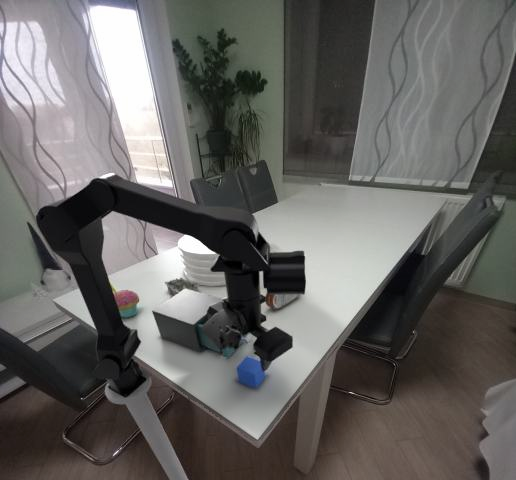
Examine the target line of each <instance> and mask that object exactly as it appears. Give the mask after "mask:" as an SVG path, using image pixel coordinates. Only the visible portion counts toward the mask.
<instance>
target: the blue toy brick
mask: <svg viewBox="0 0 516 480" xmlns="http://www.w3.org/2000/svg"><path fill="white" fill-rule="evenodd" d="M236 373H237V381H238V382H239V383H241V384H244V385H247V386H249V387H252V388H254V389H257V388H258V387H259V385H260V384H261V383H262V381H263V380H264V378H265V377H266V371H264V372H263V371H262V368H261V363H260V359H256V358H253V357H250V356H248V355H246V356H245V357H244V358H243V359H242V361H241V362H240V363H239V364H238V365H237V366H236Z"/></svg>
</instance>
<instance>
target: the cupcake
mask: <svg viewBox="0 0 516 480" xmlns="http://www.w3.org/2000/svg"><path fill="white" fill-rule="evenodd" d="M110 284H111V287H112V290H113V294H114V297H115V300H116V303H117V306H118V309H119V312H120V315H121V318H131V317H133V316H135V315H136V314H137V312H138V303H139V302H140V298H139V297H140V296H139V295H138V293H136V292H135V291H133V290H129V289H122V290H119V291H117V290H116V288H114V286H113V284H112V283H111V282H110Z"/></svg>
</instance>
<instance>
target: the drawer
mask: <svg viewBox="0 0 516 480" xmlns="http://www.w3.org/2000/svg"><path fill="white" fill-rule="evenodd" d="M208 320H209V319H208V316H207V317H206V318H205V319H203V320H202V321H201V322H200V323H199V324H197V325H196V328H197V332H198V336H199V340H200V344H201V345H202V346H205V348H208V349H210V350H213V351H215V352H218V353H221V352H222V356H223V358H226V359H228V358H229V357H231V355H233V353H234V352H235V351H236V350H234V349H233V348H229V347H227V348H225V349H223V350H220V349H218V348H217V347H216V346H215V345H214V344H213V343H211V342H210V341H209V340H208V339H207V337H206V336H205V335H204V333H203V332H202V331H201V327H202V326H203V325H204V324H205V323H206V322H207V321H208ZM254 338H255V336H253V335H252V334H250V333H248V334H246V335H244V336H242V338H241V340H240V343H239V346H240V345H241V344H242V343H243V344H244V345H248V344H249V343H250V342H251V341H252V340H253V339H254Z"/></svg>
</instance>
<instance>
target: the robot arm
mask: <svg viewBox="0 0 516 480" xmlns="http://www.w3.org/2000/svg"><path fill="white" fill-rule="evenodd" d="M113 212H114V213H117V214H120V215H123V216H127V217H129V218H132V219H135V220H139V221H141V222H144V223H147V224H151V225H154V226H157V227H160V228H163V229H165V230H170V231H173V232H176V233H178V234H182V235H184V236H185V235H188V236H191V237H193V238H195V239H197V240H198V241H200V242H201V243H202V244H203V245H204V246H206V247H207V248H208V249H209V250H211V251H213V252H215V253H217V254H219V256H218V257H217V258H216V259H215V260H214V262H213V264H212V267H211V269H210V270H211V272H224V275H225V283H226V285H225V290H226V297H224V298H222V299H223V300H222V301H219V302H217V303H215V304H213V305H211V306H209V308H208V310H207V316H208V319H209V320H208V321H207V322H206V323H205V324H204V325H203V326H202V327H201V331H202V332H203V333H204V335H205V336H206V337H207V339H208V340H209V341H210V342H211V343H213V344H214V345H215V346H216V347H217V348H218V349H220V350H223V349H225V348H227V347H229V348H233V349H234V350H235V351H236V350H238V349H239V348H240V345H239V343H240V340H241V338H242V336H244V335H246V334H248V333H250V334H252V335H253V336H254V338H255V340H254V342H253V346H252V347H253V350H254V352H253V354H254V355H255V356H256V357H258V358H259V361H260V363H261V368H262V371H263V372H264V371H265V372H266V371H267V370H269V367H270V366H271V364H272V363H273V361H275V360H276V359H278V358H280V357H281V356H282V355H284V354H285V353H287V352H288V351H290V350H291V349H292V348H293V347H294V345H293V343H294V337H293V335H291V334H289V333H288V332H286V331H284V330H282V329H281V328H279V327H278V326H274V327H272V328H271V329H268V328H266V327H264V326H263V325H262V324H263V323H265V322H266V321H267V315H265V314H263V312H262V304H264V303H266V295H264V294H262V293H261V278H260V276H261V275H260V272H262V284H263V286H262V287H263V289H266V293H270V295H297V294H300V295H305V294H306V286H307V278H306V253H305V251H304V250H294V251H284V252H283V251H281V252H280V251H279V252H273V251H272V246H271V245H270V244H269V242H268V241H267V240H266V239H265V237H264V236H263V234H262V233H261V232H260V231H259V230H260V229H259V224H258V221H257V219H256V218H255V215H254V214H253V213H251V212H250V211H248V210H247V209H244V208H237V207H231V206H224V205H223V206H222V205H221V206H220V205H215V206H213V205H212V206H211V205H202V204H199V203H196V202H193V201H190V200H187V199H184V198H181V197H178V196H174V195H172V194H169V193H166V192H163V191H160V190H157V189H154V188H151V187H149V186H147V185H143V184H140V183H137V182H134V181H131V180H128V179H126V178H124V177H122V176H120V175H119V174H116V173H106V174H103V175H101V176H97V177H94V178H92V179H91V180H90V181H89V183H88V184H87V185H86V186H84V187H83V188H82V189H81V190H79V191H78V192H76V193H75V194H73V195H70V196H67V197H64V198H62V199H59V200H57V201H54V202H52V203H49V204H45V205H44V206H42V207H41V208H39V209H38V211H37V214H35V222H36V226H37V228H38V230H39V232H40V233H41V235H42V236H43V238H44V240H45V241H46V243H47V245H48V247H49V248H50V250H51V251H52V252H53V253H55V254H56V255H57V256H58V257H60V258H61V259H62V260H63V261H65V263H67V264H68V265H69V268H70V270H71V272H72V275H73V277H74V279H75V282H76V284H77V287H78V289H79V292H80V295H81V297H82V299H83V302H84V304H85V305H86V309H87V311H88V313H89V317H90V318H91V320H92V323H93V325H94V328H95V330H96V334H97V336H96V344H95V352H96V357H97V361H98V364H97V365H96V367H95V368H94V369H93V371H92V374H93V375H94V376H95V377H96V378H97V379H98V380H106V382H107V383H109V386H108V388H109V389H110V390H112V391H114V392H115V393H117V394H119V395H121V396H123V397H124V398H126V397H128V396H129V395H130V394H131V393H133V392H134V391H135V390H136V389H137V388H138V387H140V386H141V385H142V384H143V383H144V382H145V381H146V380H147V378H146V377H144V376H142V371H141V369H142V368H141V367H140V365H139V363H138V361H136V360H135V359H134V358H133V357H134V356H135V355H136V352H137V351H138V350H139V347H140V346H141V344H142V340H140V338H139V334H138V330H137V328H130V327H128V326H127V325H126V324H125V323H124V321H123V317H122V316H121V315H120V312H119V309H118V306H117V303H116V300H115V297H114V292H113V290H112V287H111V284H112V283H111V280H110V279H109V276H108V273H107V268H106V267H105V266H106V265H105V263H104V260H103V250H104V242H105V234H104V226H103V219H104V218H106V217H107V216H108V215H110V214H111V213H113ZM110 283H111V284H110ZM144 379H145V380H144Z"/></svg>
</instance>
